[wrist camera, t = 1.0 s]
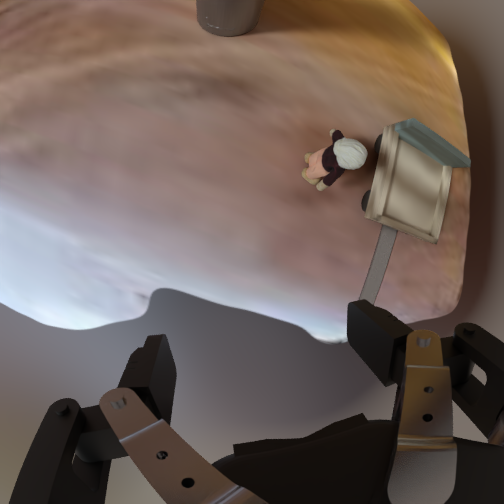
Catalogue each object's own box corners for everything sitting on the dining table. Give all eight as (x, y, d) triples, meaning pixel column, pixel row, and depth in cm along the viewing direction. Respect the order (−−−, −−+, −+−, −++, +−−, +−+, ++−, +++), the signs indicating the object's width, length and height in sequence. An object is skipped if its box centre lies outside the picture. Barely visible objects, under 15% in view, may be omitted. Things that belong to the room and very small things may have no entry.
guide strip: (399, 148, 37) (400, 148, 37) (412, 155, 38) (413, 155, 37) (356, 304, 41) (357, 305, 41) (371, 307, 42) (371, 307, 42)
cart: (376, 129, 36) (413, 118, 27) (433, 162, 38) (470, 160, 30) (356, 216, 38) (393, 223, 29) (416, 238, 41) (454, 249, 32)
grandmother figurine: (325, 192, 37) (374, 193, 25) (298, 190, 36) (340, 189, 24) (327, 139, 36) (375, 119, 23) (301, 135, 35) (341, 111, 23)
